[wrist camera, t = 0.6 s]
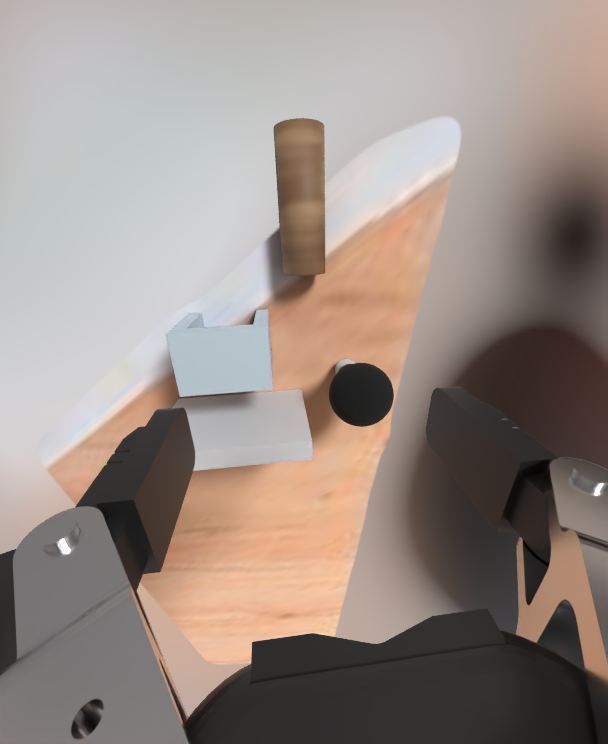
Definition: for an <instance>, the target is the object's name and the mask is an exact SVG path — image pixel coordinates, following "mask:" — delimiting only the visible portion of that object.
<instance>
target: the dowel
mask: <svg viewBox="0 0 608 744" xmlns="http://www.w3.org/2000/svg"><path fill="white" fill-rule="evenodd" d="M274 141H275V158H276V174H277V190H278V206H279V223H280V239H281V255H282V271H283V275H290V276H304V275H318V274H324V273H325V177H324V176H325V173H324V125H323V123H321V122H319V121H317V120H313V119H304V118H302V119H301V118H300V119H290V120H285V121H282V122H280V123H278V124H276V125H275V126H274Z"/></svg>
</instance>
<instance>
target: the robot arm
mask: <svg viewBox="0 0 608 744" xmlns="http://www.w3.org/2000/svg"><path fill="white" fill-rule="evenodd" d="M426 435H427V440H428V442H429V444H430V446H431V448H432V449H433V450H434V452H435V453H436V454H437V455H438V457H439V458H440V460H441V461H442V462H443V463H444V465H445V466H446V468H447V469H448V470H449V471H450V473H451V474H452V475H453V477H454V478H455V479H456V481H457V482H458V483H459V485H460V486H461V487H462V489H463V490H464V491H465V493H466V494H467V495H468V497H469V498H470V499H471V501H472V502H473V503H474V505H475V506H476V507H477V509H478V510H479V511H480V512H481V514H482V515H483V516H484V518H485V519H486V520H487V522H488V523H489V524H490V525H491V527H492V528H493V529H494V531H495V532H496V533H498V532H506V531H516V532H517V533H518V534H519V535H520V538H519V541H518V543H517V568H518V595H519V596H518V598H519V619H518V626H517V631H516V635H515V634H512V633H509V632H505V631H502V630H499V628H498V627H497V625H496V623H495V622H494V620H493V618H492V616H491V615H490V613H489V611H488V609H480V610H473V611H467V612H459V613H452V614H445V615H438V616H432V617H430V618H428V619H426V620H424V621H423V622H421V623H419V624H417V625H415V626H413V627H411V628H410V629H408V630H406V631H404V632H402V633H400V634H398V635H397V636H395V637H393V638H391V639H389V640H387V641H386V642H383V643H380V644H370V643H365V642H359V641H353V640H347V639H342V638H336V637H331V636H325V635H319V634H314V633H312V634H305V635H298V636H291V637H284V638H277V639H270V640H263V641H256V642H252V662H251V664H250V665H248V666H246V667H244V668H242V669H241V670H239V671H237V672H236V673H234V674H233V675H232V676H230V677H229V678H227V679H226V680H224V681H223V682H222V683H221V684H220V685H219V686H218V687H216V688H215V689H214V690H213V691H212V692H211V693H210V694H209V695H208V696H207V697H206V698H205V699H204V700H203V701H202V702H201V703H200V705H199V706H198V707H197V708H196V709H195V710H194V711H193V713H192V714H191V715H190V717H189V718H188V716H187V713H186V711H185V708H184V706H183V703H182V701H181V699H180V696H179V694H178V691H177V689H176V687H175V684H174V682H173V680H172V677H171V675H170V672H169V670H168V668H167V665H166V663H165V660H164V658H163V655H162V653H161V650H160V648H159V645H158V643H157V640H156V638H155V635H154V632H153V630H152V628H151V625H150V623H149V620H148V618H147V615H146V613H145V610H144V607H143V605H142V603H141V600H140V597H139V595H138V593H137V588H138V586H139V583H140V580H141V577H142V575H143V574H147V573H155V572H161V569H162V566H163V562H164V559H165V556H166V553H167V550H168V547H169V544H170V541H171V538H172V535H173V531H174V528H175V525H176V522H177V519H178V516H179V513H180V510H181V507H182V503H183V500H184V497H185V494H186V491H187V488H188V485H189V482H190V479H191V475H192V472H193V469H194V465H195V448H194V443H193V439H192V434H191V430H190V426H189V421H188V417H187V413H186V410H185V409H184V408H183V407H181V408H168V409H158V410H156V411H155V412H154V414H153V416H152V417H151V419H150V420H149V422H148V423H147V425H146V426H145V427H138V428H137V429H136V430H134V431H133V432H132V433H130V434H129V435H128V436H127V437H125V438H124V439H123V440H122V442H121V443H120V445H119V446H118V448H117V449H116V450H115V454H113V455H112V456H111V457H110V459H109V460H108V462H107V465H105V466H104V467H103V469H102V470H101V471H100V473H99V474H98V476H97V477H96V479H95V480H94V481H93V483H92V484H91V486H90V487H89V488H88V490H87V491H86V493H85V494H84V495H83V497H82V498H81V500H80V501H79V503H78V504H77V505H76V507H75V508H72V509H68V510H66V511H63V512H61V513H58V514H56V515H54V516H52V517H50V518H49V519H47V520H45V521H44V522H43V523H41V524H40V525H38V526H37V527H36V528H34V529H33V530H32V531H31V532H30V533H29V534H28V535H27V536H26V537H25V538H24V539H23V540H22V542H21V543H20V544H19V546H18V547H17V549H15V550H12V551H9V552H6V553H3V554H0V744H608V470H606V469H604V468H602V467H600V466H598V465H596V464H593V463H590V462H587V461H584V460H579V459H574V458H558V457H557V456H556V455H555V454H553V453H552V452H551V451H549V450H548V449H547V448H546V447H544V446H543V445H542V444H540V443H539V442H538V441H537V440H535V439H534V438H533V437H531V436H530V435H529V434H528V433H526V432H525V431H524V430H522V429H521V428H518V426H517V425H516V424H515V423H513V422H512V421H511V420H508V419H507V417H506V416H504V415H503V414H502V413H501V412H499V411H498V410H497V409H495V408H494V407H492V406H490V405H487V404H485V403H483V402H481V401H479V400H477V399H476V398H475V397H473V396H472V395H471V394H470V393H468V392H467V391H466V390H465V389H463V388H462V387H446V388H436V389H435V390H434V391H433V393H432V397H431V403H430V409H429V414H428V420H427V426H426Z"/></svg>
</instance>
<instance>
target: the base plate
mask: <svg viewBox="0 0 608 744" xmlns="http://www.w3.org/2000/svg"><path fill="white" fill-rule="evenodd" d="M181 407H183V408H184V409H185V410H186V413H187V417H188V421H189V426H190V430H191V434H192V439H193V443H194V448H195V465H194V469H193V471H198V470H208V469H219V468H229V467H239V466H249V465H259V464H270V463H280V462H290V461H300V460H310V459H313V452H312V438H311V433H310V428H309V423H308V419H307V414H306V409H305V404H304V400H303V395H302V390H301V389H294V390H282V391H269V392H256V393H244V394H231V395H218V396H206V397H193V398H180V399H177V401H176V403H175V404H174V406H173V408H181Z"/></svg>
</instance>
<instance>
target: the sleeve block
mask: <svg viewBox="0 0 608 744" xmlns="http://www.w3.org/2000/svg"><path fill="white" fill-rule="evenodd" d="M166 338H167V343H168V347H169V352H170V356H171V360H172V365H173V369H174V373H175V378H176V382H177V387H178V391H179V395H180V397H184V396H197V395H209V394H222V393H235V392H248V391H260V390H273V370H272V349H271V338H270V326H269V314H268V309H262V310H256V314H255V319H254V323H253V324H251V325H234V326H218V327H204V324H203V318H202V313H192V314H188V315H187V316H186V317H185V318H184V319H183V320H182V321H180V322H179V323H178V324H177V325H176V326H175V327H173V328H172V329H171V330H170V331H169V332H168V333H167V334H166Z"/></svg>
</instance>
